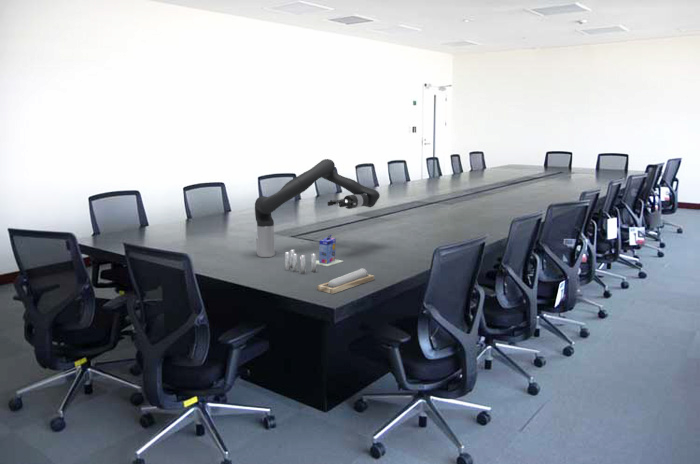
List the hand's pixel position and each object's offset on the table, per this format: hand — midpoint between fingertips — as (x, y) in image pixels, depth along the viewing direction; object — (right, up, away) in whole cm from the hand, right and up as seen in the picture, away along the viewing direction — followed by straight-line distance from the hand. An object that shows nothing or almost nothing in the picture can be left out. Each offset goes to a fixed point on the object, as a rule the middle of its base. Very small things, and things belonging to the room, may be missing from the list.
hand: (333, 204), depth 294 cm
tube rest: (+7, -39, -43) cm, 58 cm away
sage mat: (-4, -31, -2) cm, 31 cm away
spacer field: (-17, -34, -17) cm, 42 cm away
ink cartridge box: (-3, -31, -2) cm, 31 cm away
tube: (+8, -39, -42) cm, 58 cm away
